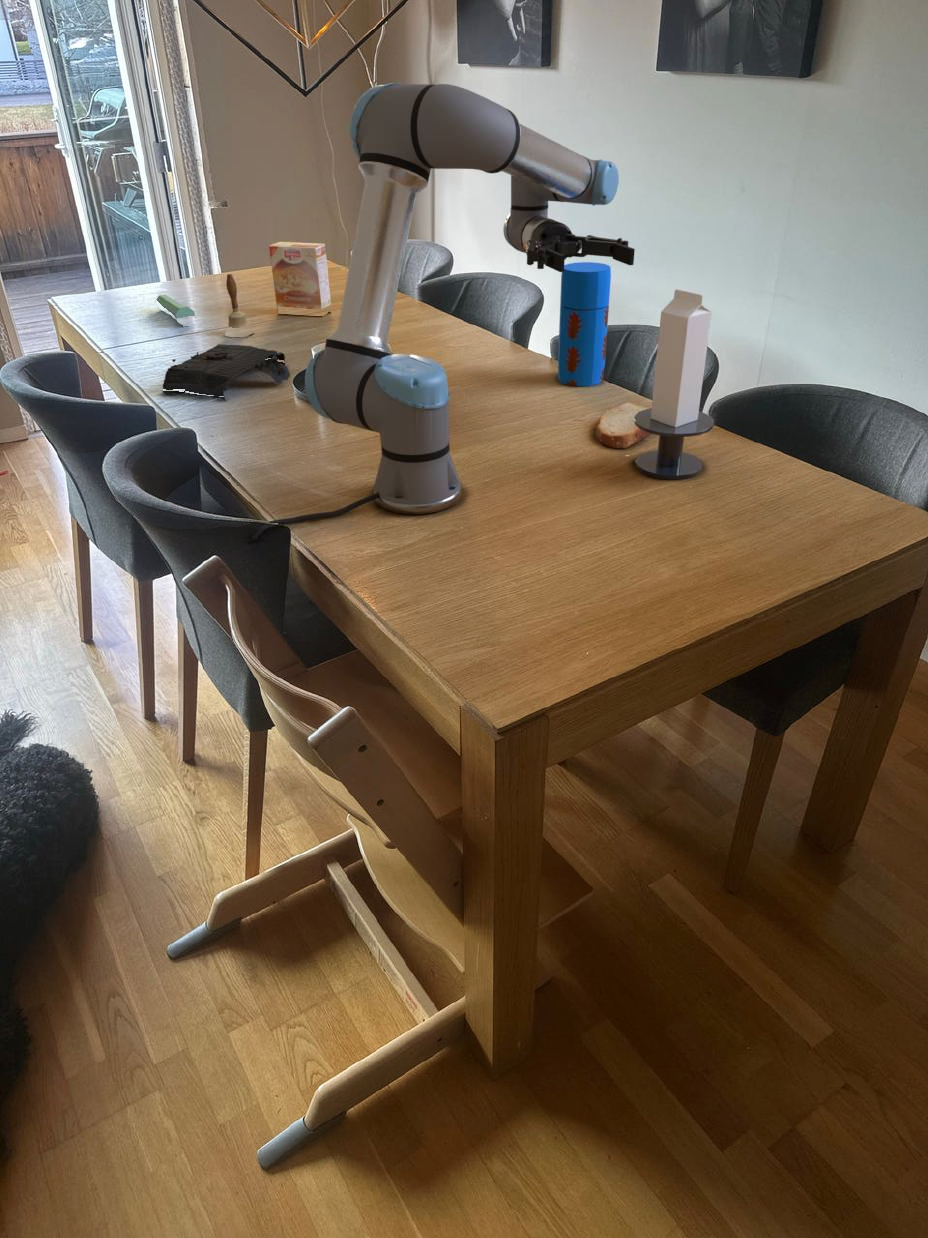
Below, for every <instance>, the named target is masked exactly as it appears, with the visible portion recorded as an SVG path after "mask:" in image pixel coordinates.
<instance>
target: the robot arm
mask: <svg viewBox="0 0 928 1238" xmlns="http://www.w3.org/2000/svg"><path fill="white" fill-rule="evenodd" d="M349 125H350V126H349V133H350V135H349V136H350V139H351V140H352V141H353V143H351V145H352V149H353V151H354V153H355V156H356V157H357V158H358V159H359V161H358V170H359V172H360V173H361V175H362V176H363V178H364V179H363V180H364V186H363V189H362V190H363V192H362V195H361V196H362V197H361V201H360V206H359V208H360V209H359V211H358V212H359V213H358V217H357V223H356V229H355V234H354V239H353V245H352V249H351V255H350V259H349V266H348V270H347V275H346V276H347V277H346V281H345V288H344V292H343V298H342V299H343V300H342V303H341V309H340V314H339V320H338V324H337V329H336V330H335V331H334V332H332V333H331V334H329V335H328V336H326V338H325V345H324V349H322V350H319V351H317V352H316V353H315V354H314V355H313V357H312V358H310V360H309V361H308V363H307V366H306V368H305V374H304V389H305V394H306V397H307V401H308V402H309V403H310V405H311V407H312V409H313V410H314V412H316V413H317V414H318V415H320V416H321V417H323V418H325V419H328V420H331V421H332V422H334V423H336V424H342V425H348V426H351V427H355V428H359V429H363V430H367V431H371V432H375V433H378V434H379V437H380V438H379V439H380V448H381V449H380V450H381V457H380V461H379V466H378V469H377V473H376V477H375V481H374V485H373V493H372V494H370V495H368V496H365V497H363V498H361V499H358V500H355V501H354V502H352V503H350V504H348V505H346V506H344V507H341V508H339V509H336V510H332V511H323V512H316V513H315V512H314V513H308V514H302V515H297V516H293V517H287V518H278V519H274V520H270V521H268V522H269V523H278V524H281V525H280V526H283V525H290V524H296V523H301V522H305V521H313V520H319V519H328V518H335V517H338V516H341V515H344V514H346V513H349V512H351V511H352V510H355V509H356V508H360V507H361V506H364V505H366V504H368V503H371V502H372V501H375V503H376V504H377V505H378V506H379V507H381V508H383V509H385V510H387V511H390V512H393V513H398V514H405V515H424V514H432V513H433V514H434V513H437V512H440V511H444V510H446V509H449V508H451V507H453V506H454V505H456V504H457V503H458V502H459V501H460V499H461V497H462V482H461V479H460V476H459V474H458V470H457V468H456V465H455V463H454V460H453V458H452V455H451V445H450V444H451V443H450V401H449V400H450V390H449V386H448V377H447V373H446V370H445V368H444V367H443V366H442V365H441V364H440V363H439V362H437V361H435V360H434V359H431V358H429V357H426V356H422V355H418V354H406V353H395V354H394V352H393V350H392V349H391V347H390V345H389V343H388V338H389V334H390V328H391V322H392V318H393V313H394V308H395V303H396V298H397V293H398V287H399V284H400V279H401V273H402V268H403V262H404V258H405V254H406V248H407V243H408V238H409V232H410V228H411V223H412V218H413V214H414V213H413V212H414V207H415V203H416V197H417V195H418V194H419V193H420V192H422V191H423V190H424V189H426V188H428V185H429V181H430V176H431V170H432V169H436V170H441V169H442V170H477V171H482V172H483V173H487V174H498V173H501V172H502V173H505V174H507V175H510V213H509V214H508V215H507V217H506V219H505V221H504V223H503V229H502V230H503V231H502V232H503V236H504V239H505V241H506V242H507V243H508V244H509V246H511V247H512V248H513V249H515V250H516V251H517V252H521V253H524V254H526V265H528V266H533V265H534V264H535V263H536V264H537V267H536V269H537V270H544V269H545V266H546V267H548V268H550V269H552V270H554V271H556V272H559V273H562V272H564V265H565V261H566V260H567V258H569V259H570V258H573V257H574V258H585V257H586V256H596V257H607V258H612V260H615V261H617V262H619V263H622V264H625V265H627V266H634V264H635V263H634V262H635V252H636V249H635V248H633V247H631V246H629V241H628V240H623V238H622V237H619V238H617V239H615V238H606V237H599V236H594V235H591V234H589V235H586V236H583V235H575V234H574V233H573V232H572V231H571V228H570V227H569V226H568V225H566V224H565V223H563V222H560V221H558V220H555V219H553V218H550V217H548V215H549V214H548V213H549V202H558V203H569V204H570V203H571V204H582V205H592V206H594V207H595V206H607V205H609V204H610V203H612V201H613V200H614V199H615V197H616V195H617V192H618V188H619V179H620V178H619V170H618V167H617V165H616V164H615V163H614V162H613V161H609V160H603V159H591V158H589V157H586V156H585V155H582V154H580V153H578V152H577V151H574V150H573V149H570V148H568V147H567V146H565V145H562V144H560V143H559V142H556V141H555V140H553V139H551V138H550V137H549V138H548V137H547V136H545V135H543V134H541V133H540V132H538V131H536V130H533V129H531V128H530V127H527V126H526V125H524V124H521V123H520V121H519V119H518V117H517V116H516V114H515V113H514V112H513V111H512V110H510V109H509V108H506V107H505V106H503V105H501V104H499V103H497V102H496V101H493V100H491V99H489V98H488V97H485V96H484V95H481V94H478V93H476V92H474V91H472V90H469V89H468V88H464V87H461V86H457V85H454V84H449V83H437V84H434V83H433V84H429V83H428V84H425V83H423V84H422V83H421V84H419V83H417V84H416V83H413V84H412V83H399V82H390V83H387V84H380V85H375V86H373V87H370V88H369V89H368V90H366V91H365V92H364V93H363V94H362V95H361V96H360V97H359V99H358V100H357V102H356V104H355V105H354V108H353V111H352V114H351V118H350V124H349ZM580 251H581V252H580ZM259 538H260V537H255V538H252V537H250V540H251V541H255V540H258V539H259Z"/></svg>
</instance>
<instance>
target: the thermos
mask: <svg viewBox="0 0 928 1238" xmlns="http://www.w3.org/2000/svg"><path fill="white" fill-rule="evenodd" d="M611 268H612V267H611V266H610V265H609V264H606V263H601V262H595V261H594V262H593V261H592V262H591V261H580V262H570V263H567V264H564V272H561V274H560V278H561V279H560V296H559V297H560V301H559V303H560V305H559V323H558V324H559V325H558V326H559V327H558V352H557V353H558V354H557V378H558V379H557V380H558V382H560V383H561V384H564V385H567V386H572V387H592V386H596V385H599V384H601V383H602V382H603V381H604V376H605V368H606V367H605V366H606V353H607V341H608V340H607V339H608V327H609V326H608V325H609V312H610V311H609V310H610V296H611V294H610V293H611V282H612V281H611V280H612V269H611Z"/></svg>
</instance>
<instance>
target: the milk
mask: <svg viewBox="0 0 928 1238" xmlns="http://www.w3.org/2000/svg"><path fill="white" fill-rule="evenodd" d="M673 293H674V294H673V298H672V300H671V301H670V302H669V303H668V304H666V306H665V307H664V308H662V310H661V312H660V319H659V329H658V337H657V338H658V340H657V347H656V348H657V349H656V358H655V369H654V377H653V379H654V380H653V387H652V398H651V407H650V408H651V419H653V420H656V421H659V422H661V423H664V424H667V425H669V426H672V427H678V426H681V425H684V424H687V423H690V422H693V421H696V420H698V413H699V411H700V404H701V396H702V389H703V381H704V374H705V366H706V359H707V352H708V344H709V336H710V328H711V320H712V313H713V312H712V311H711V310H710V309H709V308H707V307H705V305H703V294H700V293H695V292H691V291H687V290H681V289H677V288H676V289H674V292H673Z"/></svg>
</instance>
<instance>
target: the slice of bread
mask: <svg viewBox="0 0 928 1238" xmlns="http://www.w3.org/2000/svg"><path fill="white" fill-rule="evenodd" d="M649 408H650V407H646V406H643V405H640V404H637V403H634V402H631V401H630V402H629V401H625V402H622V403H620V404H618V405H615V406H613V407H611V408H609V409H608V410H606V411H605V412H604V413H603V414H602V415H601V416H599V423H598V424H597V426H596V430H595V436H596V438H597V440H599V442H600V443H602V444H604V445H606V446H608V447H609V448H612V449H613V448H614V449H615V448H616V449H627V448H630V446H634V445H635V444H638V443H639V442H640V441H643V439H644V438H646V437H647V436H649V435H650V434H651V433H648V432H646V431H643V430H641V429H640V428H638V427H637V426H636V425H635V423H634V417H635V415H636V414H637V413H638V412H640V411H642V410H645V409H649Z"/></svg>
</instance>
